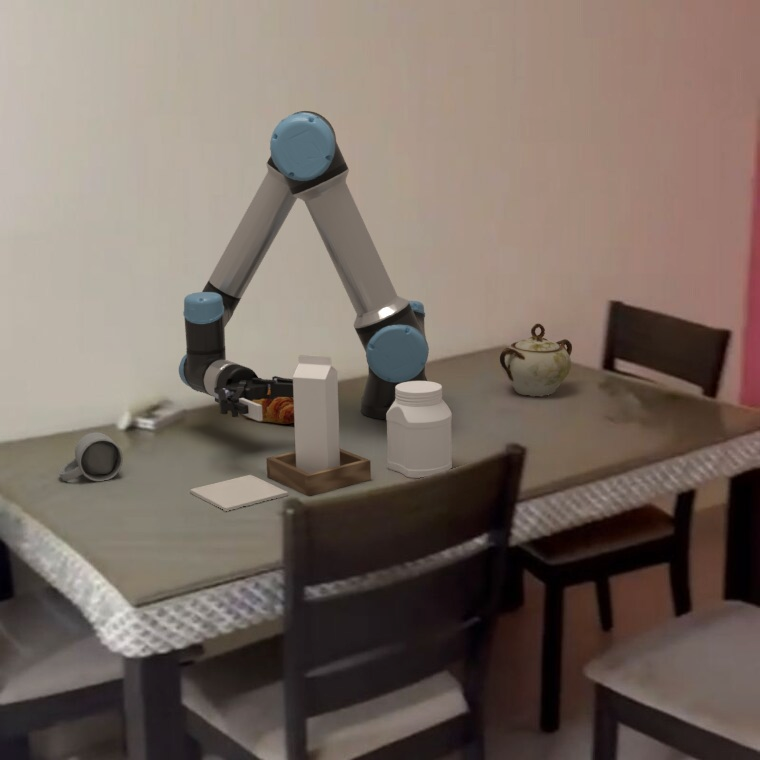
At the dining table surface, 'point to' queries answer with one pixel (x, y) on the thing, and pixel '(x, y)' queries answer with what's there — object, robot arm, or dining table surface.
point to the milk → (316, 414)
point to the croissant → (277, 409)
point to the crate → (318, 473)
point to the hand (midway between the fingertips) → (293, 406)
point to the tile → (238, 492)
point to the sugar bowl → (536, 364)
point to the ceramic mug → (94, 459)
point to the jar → (419, 430)
